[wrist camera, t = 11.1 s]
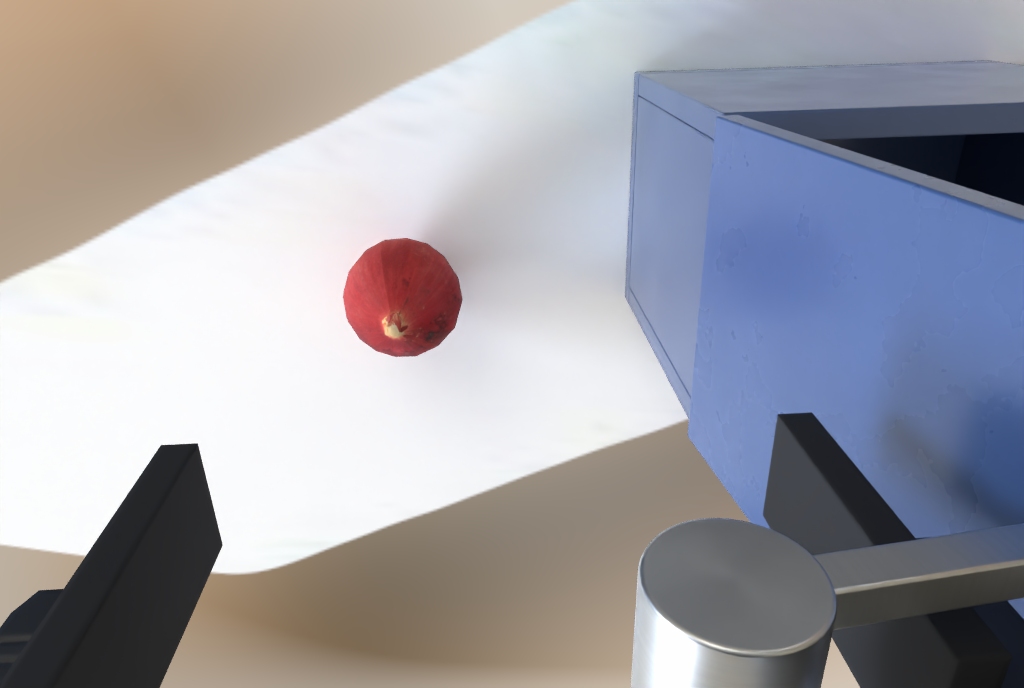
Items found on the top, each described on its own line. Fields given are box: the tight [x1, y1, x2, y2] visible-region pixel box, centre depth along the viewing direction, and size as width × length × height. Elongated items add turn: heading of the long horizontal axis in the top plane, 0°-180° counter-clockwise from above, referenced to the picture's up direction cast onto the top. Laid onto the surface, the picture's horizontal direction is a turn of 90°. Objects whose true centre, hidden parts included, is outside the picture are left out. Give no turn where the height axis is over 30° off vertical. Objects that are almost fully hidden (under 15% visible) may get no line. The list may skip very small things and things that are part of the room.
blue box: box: [625, 61, 1024, 418], centre depth 33 cm, size 18×12×14 cm, turn 91°
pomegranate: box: [343, 238, 462, 357], centre depth 37 cm, size 6×6×8 cm
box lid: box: [631, 115, 1024, 688], centre depth 17 cm, size 19×12×9 cm
